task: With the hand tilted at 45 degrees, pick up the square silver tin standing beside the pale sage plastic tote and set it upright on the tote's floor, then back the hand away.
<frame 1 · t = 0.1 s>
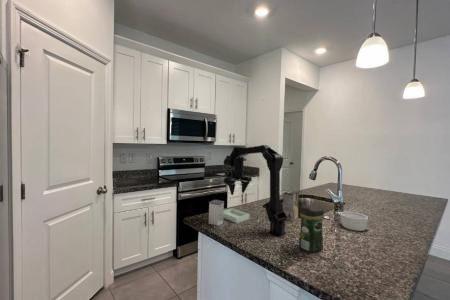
hand: (237, 194, 127), 15 cm above the worktop, tool pointing down, fingers open, 9 cm apart
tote: (233, 217, 128), on the worktop
coffee box: (290, 218, 130), on the worktop
coffee jar: (310, 248, 92), on the worktop
ramekin: (353, 227, 118), on the worktop
tin: (216, 223, 119), on the worktop
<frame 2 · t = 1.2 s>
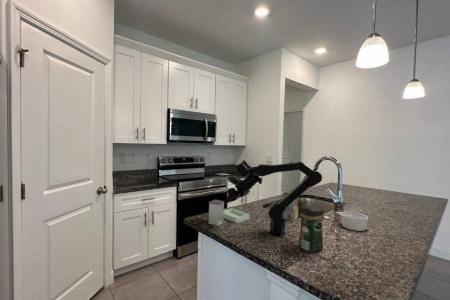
hand: (228, 200, 115), 13 cm above the worktop, tool tilted 45°, fingers open, 9 cm apart
nothing on the worktop moved.
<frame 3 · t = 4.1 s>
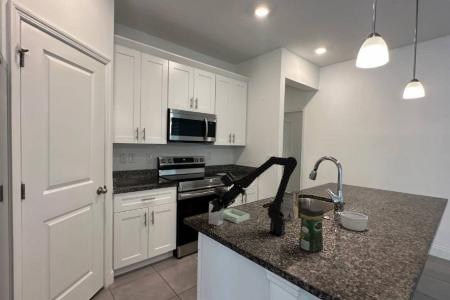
hand: (214, 210, 119), 7 cm above the worktop, tool tilted 45°, fingers closed on tin, 6 cm apart
tin: (216, 222, 119), on the worktop, touching gripper
everything else where it was.
when the fingers open (8 cm above the worktop, at t = 10.4 s): tin stays where it is, resting on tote.
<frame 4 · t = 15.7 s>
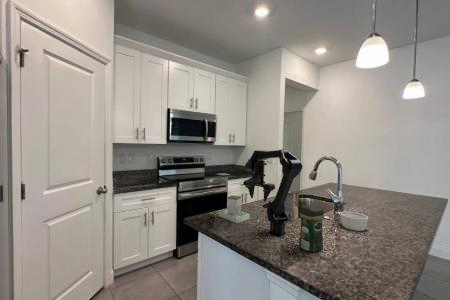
hand: (258, 199, 121), 13 cm above the worktop, tool pointing down, fingers open, 9 cm apart
tin: (233, 216, 128), point 1 cm above the worktop, touching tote
everything else where it was.
at the end: tin inside the target area on the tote (0.0 cm from its centre), point 0.6 cm above the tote's base; tin tilted 0°; the gripper is holding nothing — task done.
